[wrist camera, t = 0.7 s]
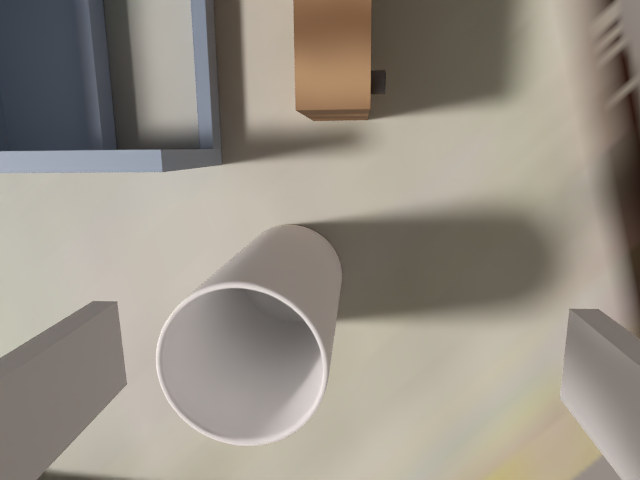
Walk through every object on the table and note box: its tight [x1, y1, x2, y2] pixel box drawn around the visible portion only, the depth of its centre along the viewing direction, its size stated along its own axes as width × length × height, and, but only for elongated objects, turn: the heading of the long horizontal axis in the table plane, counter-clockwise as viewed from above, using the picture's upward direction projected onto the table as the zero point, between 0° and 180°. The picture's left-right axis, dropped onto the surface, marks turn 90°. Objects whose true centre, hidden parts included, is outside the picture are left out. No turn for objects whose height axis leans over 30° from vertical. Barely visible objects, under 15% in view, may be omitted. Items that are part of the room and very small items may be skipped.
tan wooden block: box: [294, 0, 386, 121], centre depth 28 cm, size 12×5×10 cm, turn 1°
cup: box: [156, 225, 342, 446], centre depth 29 cm, size 8×8×16 cm
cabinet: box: [0, 0, 222, 173], centre depth 29 cm, size 17×20×11 cm
